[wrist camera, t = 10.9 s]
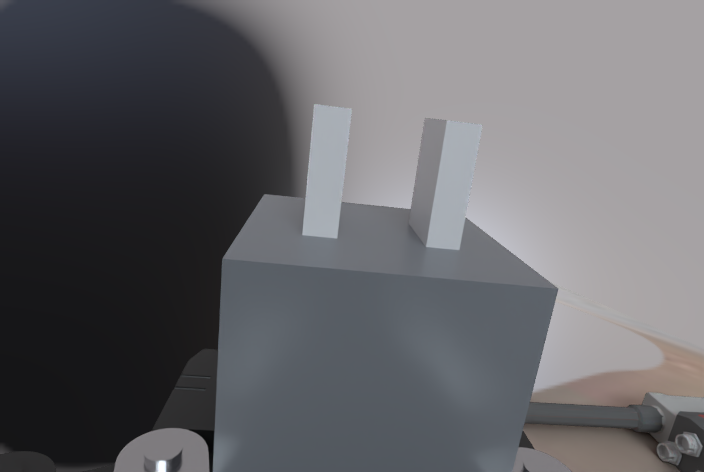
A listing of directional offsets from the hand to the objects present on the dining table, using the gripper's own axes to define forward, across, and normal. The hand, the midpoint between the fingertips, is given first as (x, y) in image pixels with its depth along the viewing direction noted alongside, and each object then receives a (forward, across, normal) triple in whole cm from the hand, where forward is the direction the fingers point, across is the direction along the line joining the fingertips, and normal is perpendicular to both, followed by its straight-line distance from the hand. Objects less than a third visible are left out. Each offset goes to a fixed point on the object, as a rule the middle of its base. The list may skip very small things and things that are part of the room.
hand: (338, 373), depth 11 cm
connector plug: (-3, 0, +7) cm, 7 cm away
